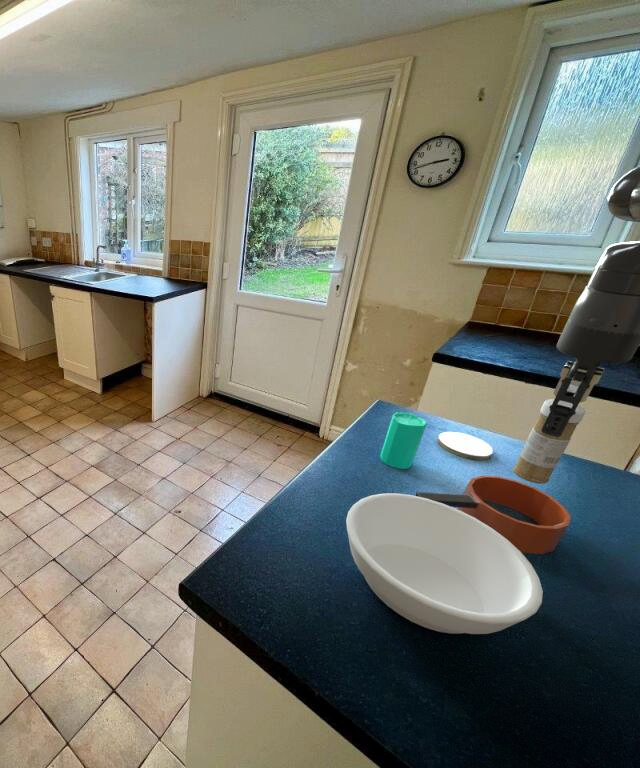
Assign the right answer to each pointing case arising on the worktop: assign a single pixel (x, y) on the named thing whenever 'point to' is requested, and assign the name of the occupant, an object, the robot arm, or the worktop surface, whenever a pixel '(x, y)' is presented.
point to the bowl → (441, 565)
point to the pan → (518, 498)
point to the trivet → (465, 445)
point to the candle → (402, 440)
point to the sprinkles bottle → (545, 446)
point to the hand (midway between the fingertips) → (553, 428)
